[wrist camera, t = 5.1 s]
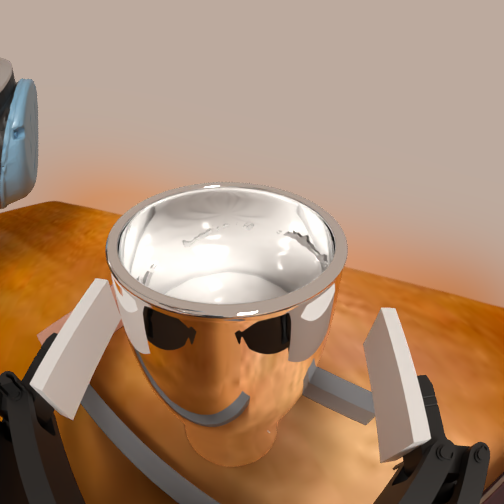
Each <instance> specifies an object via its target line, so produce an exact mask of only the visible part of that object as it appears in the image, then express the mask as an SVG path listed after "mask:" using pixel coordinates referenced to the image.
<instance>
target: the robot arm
mask: <svg viewBox="0 0 504 504" xmlns="http://www.w3.org/2000/svg"><path fill="white" fill-rule="evenodd" d="M37 167H38V105H37V92H36V86H35V84H34V81H33V80H32V79H21V80H20V81H18V82H17V83H16V82H15V79H14V74H13V68H12V64H11V62H10V61H8V60H6V59H3V58H0V209H1V208H2V209H3V208H5V207H7V205H9V204H11V203H13V202H15V201H17V200H20V199H22V198H24V197H26V196H27V195H28V194H29V193H30V192H31V190H32V189H33V187H34V184H35V182H36V177H37ZM120 320H121V316H120V313H119V311H118V308H117V305H116V302H115V300H114V297H113V294H112V291H111V288H110V285H109V282H108V280H104V279H98V278H96V279H95V280H94V281H93V283H92V284H91V286H90V287H89V288H88V290H87V291H86V293H85V294H84V296H83V297H82V298H81V300H80V301H79V303H78V304H77V306H76V307H75V309H74V310H73V312H72V313H71V315H70V316H69V318H68V319H67V321H66V322H65V324H64V325H63V327H62V329H61V330H60V332H59V333H58V334H57V333H52V334H51V335H50V336H49V337H48V338H47V339H46V340H45V342H44V343H43V345H42V347H41V349H40V350H39V352H38V353H37V356H36V357H35V358H34V360H33V362H32V363H31V365H30V367H29V369H28V371H27V372H26V374H25V376H24V378H23V379H22V381H20V380H19V378H18V377H17V376H16V375H15V374H14V373H13V372H11V371H5V372H4V373H2V374H1V375H0V416H1V417H3V420H2V422H1V421H0V504H86V503H85V501H84V499H83V497H82V495H81V492H80V490H79V488H78V485H77V483H76V480H75V478H74V475H73V473H72V470H71V467H70V464H69V462H68V459H67V456H66V453H65V450H64V447H63V443H62V440H61V436H60V433H59V429H58V426H57V422H56V418H55V415H54V413H53V411H54V409H55V410H56V411H57V412H58V413H59V414H61V415H63V416H65V417H67V418H69V419H71V420H73V419H74V417H75V414H76V412H77V409H78V407H79V405H80V402H81V400H82V398H83V395H84V393H85V391H86V389H87V387H88V384H89V382H90V380H91V378H92V376H93V374H94V371H95V369H96V367H97V365H98V363H99V361H100V359H101V357H102V355H103V353H104V351H105V349H106V347H107V345H108V343H109V341H110V339H111V337H112V335H113V333H114V331H115V329H116V327H117V325H118V324H119V322H120ZM363 346H364V351H365V356H366V361H367V367H368V372H369V378H370V384H371V390H372V396H373V403H374V410H375V417H376V425H377V433H378V442H379V452H380V463H384V462H390V461H395V460H398V459H399V458H401V457H403V462H401V463H399V464H398V465H396V466H395V467H394V468H393V470H395V469H397V468H398V470H397V471H396V473H395V474H394V476H393V477H392V479H391V480H390V481H389V483H388V484H387V486H386V487H385V488H384V490H383V491H382V493H381V494H380V495H379V497H378V498H377V499H376V501H375V502H374V503H373V504H480V500H481V497H482V493H483V489H484V485H485V480H486V475H487V470H488V465H489V459H490V451H489V447H488V446H487V445H486V444H485V443H483V442H478V443H476V444H474V445H473V446H471V447H469V446H457V445H454V444H453V443H452V442H451V441H450V440H448V439H447V438H446V436H445V433H444V429H443V425H442V420H441V416H440V412H439V407H438V405H437V400H436V397H435V392H434V388H433V385H432V383H431V382H430V380H429V379H428V377H427V376H426V375H420V376H417V375H416V371H415V368H414V364H413V361H412V358H411V354H410V351H409V348H408V345H407V341H406V338H405V335H404V332H403V329H402V326H401V323H400V321H399V318H398V315H397V312H396V309H395V308H381V309H380V311H379V313H378V316H377V318H376V320H375V322H374V324H373V326H372V328H371V330H370V332H369V334H368V336H367V338H366V340H365V342H364V344H363Z"/></svg>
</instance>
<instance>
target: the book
mask: <svg viewBox="0 0 504 504" xmlns="http://www.w3.org/2000/svg"><path fill="white" fill-rule="evenodd" d="M480 504H504V472H503V473H502V474H501V475H500V476H499V477H498V478H497V479H496V480H495V481H494V482H493V483H492V484H491V485H490V486H489V487H488V488H487V489H486V490H485V491H484V492H483V493H482V497H481V500H480Z"/></svg>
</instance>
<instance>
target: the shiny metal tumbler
mask: <svg viewBox="0 0 504 504" xmlns="http://www.w3.org/2000/svg"><path fill="white" fill-rule="evenodd" d="M347 247H348V246H347V240H346V237H345V235H344V232H343V230H342V228H341V227H340V225H339V224H338V222H337V221H336V220H335V219H334V218H333V217H332V216H331V215H330V214H329V213H328V212H327V211H325V210H324V209H323V208H321V207H320V206H318V205H317V204H315V203H313V202H311V201H310V200H307V199H306V198H303V197H301V196H299V195H296V194H293V193H291V192H288V191H285V190H281V189H278V188H274V187H269V186H263V185H258V184H250V183H238V182H216V183H204V184H195V185H190V186H184V187H180V188H176V189H172V190H169V191H165V192H163V193H160V194H157V195H155V196H152V197H150V198H148V199H146V200H144V201H142V202H141V203H139V204H137V205H136V206H134V207H132V208H131V209H130V210H128V211H127V212H126V213H125V214H124V215H123V216H121V217H120V219H119V220H118V221H117V222H116V223H115V225H114V226H113V228H112V229H111V231H110V233H109V236H108V238H107V242H106V249H105V254H106V261H107V264H108V267H109V269H110V272H111V276H112V281H113V285H114V290H115V294H116V299H117V303H118V307H119V311H120V315H121V319H122V322H123V325H124V329H125V332H126V335H127V338H128V341H129V344H130V346H131V349H132V351H133V354H134V356H135V359H136V361H137V363H138V366H139V368H140V369H141V371H142V373H143V375H144V377H145V378H146V380H147V382H148V384H149V385H150V387H151V389H152V390H153V392H154V393H155V394H156V396H157V397H158V398H159V399H160V400H161V402H162V403H163V404H164V405H165V406H166V407H167V408H168V409H169V411H170V412H171V413H172V414H174V415H175V416H176V417H177V418H178V419H179V420H180V421H182V422H183V423H184V424H185V430H186V435H187V438H188V440H189V443H190V444H191V446H192V447H193V449H194V450H195V451H196V452H197V453H198V454H199V455H200V456H201V457H203V458H204V459H206V460H208V461H209V462H212V463H214V464H217V465H221V466H228V467H237V466H243V465H247V464H250V463H253V462H255V461H257V460H259V459H260V458H262V457H263V456H264V455H265V454H266V453H267V452H268V451H269V450H270V449H271V447H272V446H273V444H274V441H275V439H276V435H277V422H278V421H279V420H280V419H281V418H282V417H283V416H284V415H285V414H286V413H287V412H288V411H289V410H290V409H291V408H292V407H293V405H294V404H295V403H296V402H297V400H298V399H299V398H300V396H301V395H302V394H303V393H304V391H305V389H306V388H307V386H308V384H309V382H310V380H311V378H312V376H313V374H314V372H315V370H316V368H317V366H318V364H319V361H320V359H321V356H322V353H323V350H324V347H325V344H326V341H327V338H328V335H329V332H330V328H331V324H332V320H333V315H334V311H335V307H336V302H337V297H338V292H339V286H340V281H341V277H342V272H343V268H344V265H345V263H346V259H347V253H348V248H347Z"/></svg>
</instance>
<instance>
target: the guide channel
mask: <svg viewBox="0 0 504 504" xmlns="http://www.w3.org/2000/svg"><path fill="white" fill-rule="evenodd" d="M110 288H111V291H112V294H113V297H114V300H115V302H116V305H117V308H118V311H119V307H118V303H117V299H116V294H115V290H114V285H113V284H112V285H111V286H110ZM72 312H73V311H71V312H70V313H68V314H67V315H65V316H64V317H62V318H61V319H59V320H58V321H56V322H55V323H53V324H52V325H50V326H49V327H47V328H46V329H45V330H43V331H42V332H40V333H39V334H37V337H38V339H39V341H40V342H41V344H42V345H43V343H44V342H45V340H46V339H47V338H48V337H49V336H50V335H51V334H52V333H57V334H58V333H59V332H60V330H61V329H62V327H63V325H64V324H65V322H66V321H67V319H68V318H69V316H70V315H71V313H72ZM119 313H120V311H119ZM120 316H121V315H120ZM122 326H123V322H122V319H121V320H120V322H119V324H118V325H117V327H116V329H115V331H117V330H118V329H119V328H121V327H122ZM115 331H114V332H115ZM302 395H304V396H306V397H308V398H309V399H311V400H313V401H315V402H317V403H319V404H321V405H323V406H325V407H327V408H329V409H332V410H334V411H336V412H338V413H340V414H342V415H344V416H346V417H349V418H351V419H353V420H355V421H357V422H360V423H362V424H364V425H367V424H368V423H369V422H370V421H371V420H372V419H373V418H374V417H375V410H374V403H373V396H372V392H370V391H368V390H366V389H363V388H361V387H359V386H357V385H355V384H353V383H350V382H348V381H346V380H344V379H342V378H340V377H338V376H336V375H334V374H331V373H329V372H327V371H325V370H323V369H321V368H319V367H317V368H316V370H315V372H314V374H313V376H312V378H311V380H310V382H309V384H308V386H307V388H306V389H305V391H304V393H303V394H302ZM80 403H81V404H82V406H83V407H84V408H85V410H86V411H87V412H88V414H89V415H90V416H91V417H92V419H93V420H94V421H95V422H96V423H97V425H98V426H99V427H100V428H101V429H102V431H103V432H104V433H105V434H106V435H107V436H108V438H109V439H110V440H111V441H112V442H113V443H114V444H115V445H116V446H117V447H118V449H119V450H120V451H121V452H122V453H123V454H124V455H125V456H126V457H127V458H128V459H129V460H130V461H131V462H132V463H133V464H134V465H135V466H136V467H137V468H138V469H139V470H140V471H141V472H143V473H144V474H145V475H146V476H147V477H148V478H149V479H150V480H151V481H152V482H154V483H155V484H156V485H157V486H158V487H159V488H160V489H162V490H163V491H164V492H165V493H166V494H168V495H169V496H170V497H171V498H173V499H174V500H175V501H176V502H178V503H179V504H220V503H219V502H217V501H215V500H214V499H212V498H211V497H210V496H208V495H207V494H205V493H204V492H202V491H201V490H200V489H198V488H197V487H195V486H194V485H193V484H191V483H190V482H189V481H187V480H186V479H185V478H184V477H182V476H181V475H180V474H178V473H177V472H176V471H175V470H174V469H172V468H171V467H170V466H169V465H167V464H166V463H165V462H164V461H163V460H162V459H161V458H159V457H158V456H157V455H156V454H155V453H154V452H153V451H152V450H150V449H149V448H148V447H147V446H146V445H145V444H144V443H143V442H142V441H141V440H140V439H139V438H138V437H137V436H136V435H135V434H134V433H133V432H132V431H131V430H130V429H129V428H128V427H127V426H126V425H125V424H124V423H123V422H122V421H121V420H120V419H119V418H118V417H117V416H116V414H115V413H114V412H113V411H112V410H111V409H110V408H109V407H108V405H107V404H106V403H105V402H104V401H103V400H102V398H101V397H100V396H99V395H98V394H97V392H96V391H95V390H94V389H93V388H92V386H91V385H90V384H88V387H87V389H86V391H85V393H84V395H83V398H82V400H81V402H80Z"/></svg>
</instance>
